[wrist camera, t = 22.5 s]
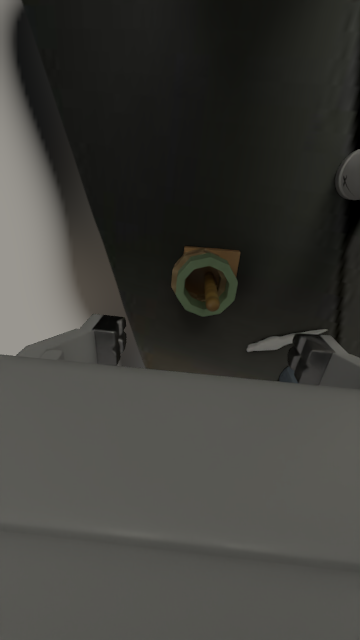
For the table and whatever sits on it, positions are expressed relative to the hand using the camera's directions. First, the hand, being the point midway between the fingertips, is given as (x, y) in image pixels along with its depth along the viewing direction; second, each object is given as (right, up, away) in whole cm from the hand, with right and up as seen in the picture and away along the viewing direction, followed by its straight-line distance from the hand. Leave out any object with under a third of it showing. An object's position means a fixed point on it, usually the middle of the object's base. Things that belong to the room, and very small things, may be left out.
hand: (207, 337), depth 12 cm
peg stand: (+4, +9, +30) cm, 32 cm away
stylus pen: (+19, -2, +35) cm, 40 cm away
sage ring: (+3, +7, +26) cm, 27 cm away
